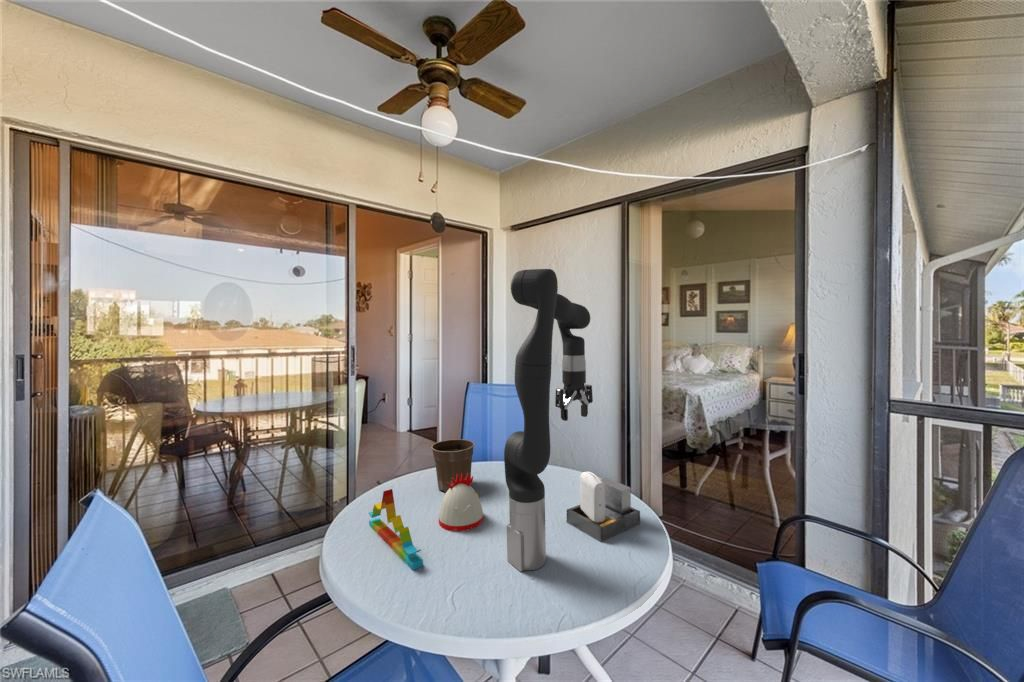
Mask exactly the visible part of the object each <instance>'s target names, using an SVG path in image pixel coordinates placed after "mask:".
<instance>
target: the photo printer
mask: <svg viewBox="0 0 1024 682" xmlns="http://www.w3.org/2000/svg"><path fill="white" fill-rule="evenodd" d="M601 479H602V478H600V477H599V476H598V475H596V474H595V473H593V472H591V471H583V472H582V473H581V474H580V476H579V505H580V508H581V510H582V511H583V512H584V513H585V514H586V515H587V516H588V517H589V518H590V519H591V520H593V521H594V522H597V523H599V522H603V521H604V520H605V485H604V483H603V482H602V481H601Z"/></svg>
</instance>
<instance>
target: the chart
mask: <svg viewBox="0 0 1024 682" xmlns="http://www.w3.org/2000/svg"><path fill="white" fill-rule="evenodd" d="M393 491H394V490H393V489H392V488H389V489H387V490H384V491H383V493H382V500H381V501H380V502H377V503H374V505H373V509H372V511H369V512H368V515H369V516H370V517H371V518H372V519H368V525H369V527H370V528H371V529H372V530H373V531H374V532H375V533H376V535H378V536H379V537H380V538H381V539H382V540H383V541H384V542H385V543H386V545H388V547H390V548H391V550H393V552H394V553H395V554H396V555H397V556H398V557H399V558H400V559H401V560H402V561H403V562H404V563H405V564H406V565H407V566H408V567H409V569H410V570H411V571H415V570H417V569H419V568H421V567H423V566H424V559H423V558H422V557H421V556H420V555H419V554H418V552H422V549H417V548H416V547H415V546H414V544H413V541H412V536H411V533H410V529H409V526H405V525H404V522H403V519H402V517H401V515H400V514H399V515H397V513H396V512H397V510H396V506H395V500H394V492H393ZM384 509H385V512H386V521H387V524H391V523H392V527H393V530H392V529H391V527H389V526H388V525H387V524H386V523H385V522H384V520H382V519H381V518H380V517H379V516H381V515H382V514H381V513H382V510H384ZM404 526H405V527H404ZM397 533H399V536H398V534H397Z"/></svg>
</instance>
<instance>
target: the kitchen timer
mask: <svg viewBox="0 0 1024 682" xmlns="http://www.w3.org/2000/svg"><path fill="white" fill-rule="evenodd" d="M473 479H474V476H473V475H471V479H469V474H468V473H467V476H466V479H464V477H463V474H461V480H459V476H458V474H457V476H456V481H455V480H454V479H453V478H452V481H453V485H450V484H449V482H447V483H448V485H449V487H450V489H449V490H448V491H447V492H445V493H444V496H443V498H442V500H441V504H440V507H439V511H438V524H439V526H440V527H441V528H442V529H444V530H446V531H450V532H465V531H470V530H473V529H475V528H477V527H478V526H480V525H481V524H482V523H483V521H484V510H483V506H482V504H481V500H480V498H479V497H480V495H479V494H478V492H476V491H475V489H474V488H473V487H472V486H471V485H472V483H473V481H474V480H473Z"/></svg>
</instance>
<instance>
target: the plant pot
mask: <svg viewBox="0 0 1024 682" xmlns="http://www.w3.org/2000/svg"><path fill="white" fill-rule="evenodd" d="M474 447H475V443H474V441H472V440H470V439H462V438H458V439H457V438H455V439H446V440H440V441H436V442H435V443H433V444H432V445H431V450H432V454H433V455H432V456H433V459H434V463H435V471H436V478H437V479H436V480H437V489H438V490H439V491H441V492H442V491H443V492H444V493H446V492H447V491H448V490H449V489H450V487H449V485H448V483H447V482H449V484H450V485H453V481H452V478H453V479H454V480H455V481H456V476H457V474H458V476H459V480H461V474H463V477H464V479H466V476H467V473H468V474H469V479H471V477H472V460H473V455H474Z"/></svg>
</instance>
